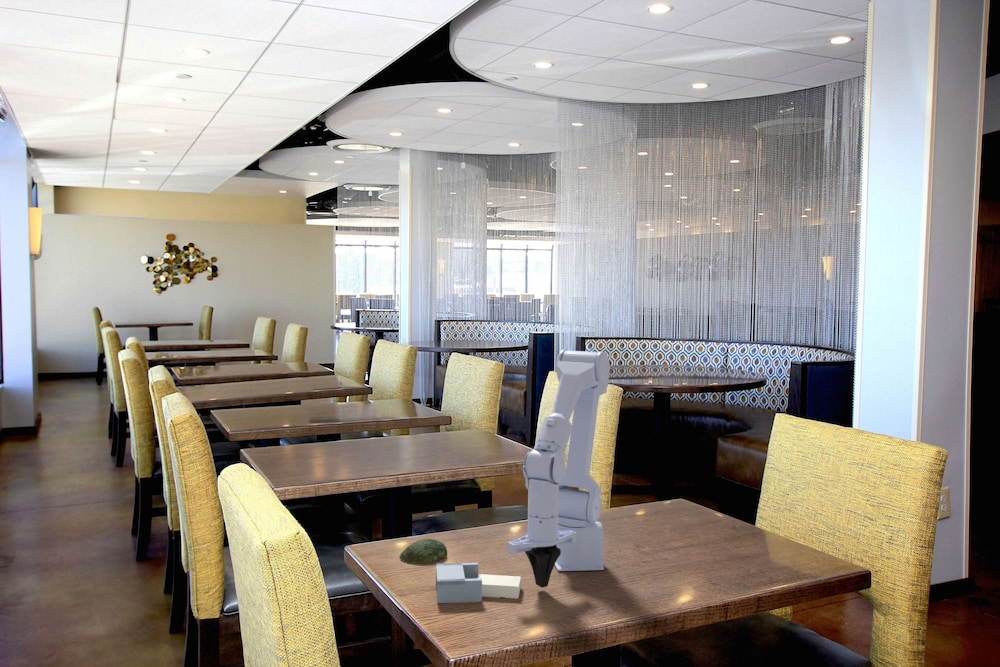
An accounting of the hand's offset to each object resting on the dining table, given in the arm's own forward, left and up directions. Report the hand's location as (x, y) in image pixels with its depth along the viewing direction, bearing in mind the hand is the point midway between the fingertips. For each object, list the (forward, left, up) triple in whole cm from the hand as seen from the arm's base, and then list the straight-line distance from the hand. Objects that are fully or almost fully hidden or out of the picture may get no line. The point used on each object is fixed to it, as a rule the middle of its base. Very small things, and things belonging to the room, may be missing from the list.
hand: (541, 585), depth 146 cm
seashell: (+22, -20, -2) cm, 30 cm away
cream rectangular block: (+8, 0, -1) cm, 8 cm away
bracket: (+16, 0, -1) cm, 16 cm away
